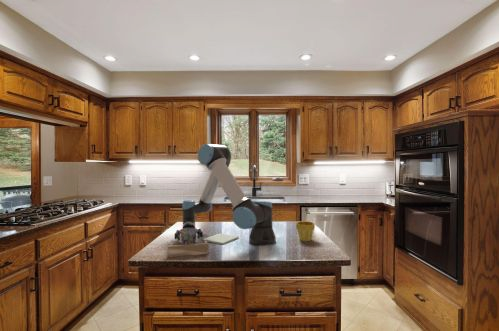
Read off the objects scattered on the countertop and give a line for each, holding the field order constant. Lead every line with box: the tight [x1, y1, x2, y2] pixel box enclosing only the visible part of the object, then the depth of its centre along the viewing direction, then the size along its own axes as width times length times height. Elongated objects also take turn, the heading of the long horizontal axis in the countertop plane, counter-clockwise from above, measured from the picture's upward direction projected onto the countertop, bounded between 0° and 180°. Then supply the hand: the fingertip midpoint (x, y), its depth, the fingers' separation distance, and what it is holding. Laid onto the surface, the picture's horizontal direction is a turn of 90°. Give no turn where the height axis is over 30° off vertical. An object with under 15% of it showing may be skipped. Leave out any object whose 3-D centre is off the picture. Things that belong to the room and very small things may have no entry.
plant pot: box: [295, 220, 315, 242], centre depth 159 cm, size 10×10×10 cm
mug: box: [178, 227, 199, 245], centre depth 144 cm, size 12×9×11 cm
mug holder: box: [167, 241, 210, 258], centre depth 144 cm, size 18×19×5 cm
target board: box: [202, 233, 240, 246], centre depth 162 cm, size 15×15×1 cm
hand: (188, 239), depth 140 cm, fingers closed on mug, 7 cm apart
